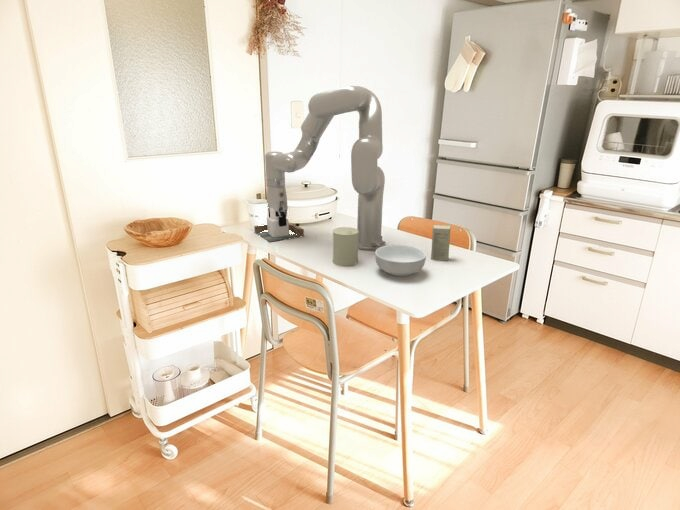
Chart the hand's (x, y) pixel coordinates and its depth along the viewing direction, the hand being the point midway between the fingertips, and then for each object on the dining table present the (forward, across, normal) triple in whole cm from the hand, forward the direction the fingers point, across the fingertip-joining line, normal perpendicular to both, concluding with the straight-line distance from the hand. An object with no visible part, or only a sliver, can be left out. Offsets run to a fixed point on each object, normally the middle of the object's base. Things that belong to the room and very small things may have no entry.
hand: (277, 223), depth 185 cm
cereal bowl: (+6, -59, -17) cm, 62 cm away
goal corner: (+5, +1, -1) cm, 5 cm away
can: (+6, -41, -7) cm, 42 cm away
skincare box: (+6, -57, -38) cm, 69 cm away
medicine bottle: (+5, 0, 0) cm, 5 cm away
